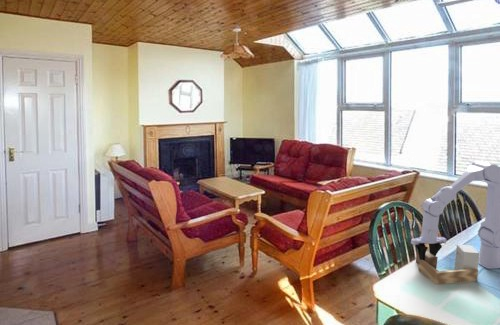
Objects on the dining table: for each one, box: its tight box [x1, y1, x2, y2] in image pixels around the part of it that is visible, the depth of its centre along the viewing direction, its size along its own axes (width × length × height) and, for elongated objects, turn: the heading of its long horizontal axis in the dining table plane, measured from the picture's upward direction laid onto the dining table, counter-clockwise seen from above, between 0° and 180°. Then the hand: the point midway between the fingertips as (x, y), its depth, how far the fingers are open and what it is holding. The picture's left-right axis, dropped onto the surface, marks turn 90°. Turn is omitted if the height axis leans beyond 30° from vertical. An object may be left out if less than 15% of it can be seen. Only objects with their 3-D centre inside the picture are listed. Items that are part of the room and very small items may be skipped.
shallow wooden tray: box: [418, 260, 479, 285], centre depth 144 cm, size 17×11×4 cm, turn 100°
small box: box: [453, 243, 480, 271], centre depth 146 cm, size 8×6×10 cm
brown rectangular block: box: [415, 249, 438, 269], centre depth 153 cm, size 4×8×5 cm, turn 10°
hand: (426, 260), depth 153 cm, fingers closed on brown rectangular block, 4 cm apart
